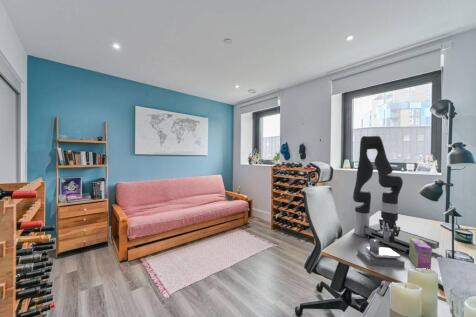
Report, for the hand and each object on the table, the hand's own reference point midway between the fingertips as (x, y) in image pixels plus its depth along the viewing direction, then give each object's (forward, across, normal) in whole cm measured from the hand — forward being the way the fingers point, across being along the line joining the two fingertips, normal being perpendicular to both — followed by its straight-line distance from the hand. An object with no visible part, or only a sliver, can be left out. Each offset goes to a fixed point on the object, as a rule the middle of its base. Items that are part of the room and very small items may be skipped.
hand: (388, 240), depth 111 cm
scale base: (+11, 0, -4) cm, 12 cm away
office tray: (+12, -21, +21) cm, 32 cm away
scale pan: (+7, 0, -3) cm, 8 cm away
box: (+12, +2, +16) cm, 20 cm away
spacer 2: (+1, 0, 0) cm, 1 cm away
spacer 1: (+6, 0, -7) cm, 10 cm away
